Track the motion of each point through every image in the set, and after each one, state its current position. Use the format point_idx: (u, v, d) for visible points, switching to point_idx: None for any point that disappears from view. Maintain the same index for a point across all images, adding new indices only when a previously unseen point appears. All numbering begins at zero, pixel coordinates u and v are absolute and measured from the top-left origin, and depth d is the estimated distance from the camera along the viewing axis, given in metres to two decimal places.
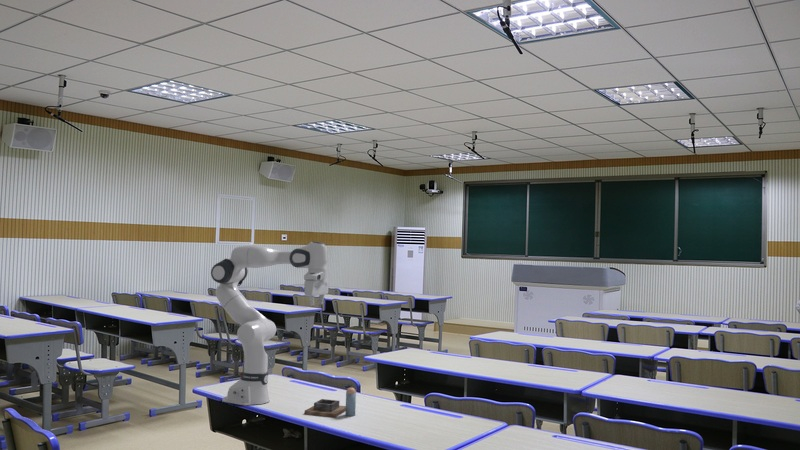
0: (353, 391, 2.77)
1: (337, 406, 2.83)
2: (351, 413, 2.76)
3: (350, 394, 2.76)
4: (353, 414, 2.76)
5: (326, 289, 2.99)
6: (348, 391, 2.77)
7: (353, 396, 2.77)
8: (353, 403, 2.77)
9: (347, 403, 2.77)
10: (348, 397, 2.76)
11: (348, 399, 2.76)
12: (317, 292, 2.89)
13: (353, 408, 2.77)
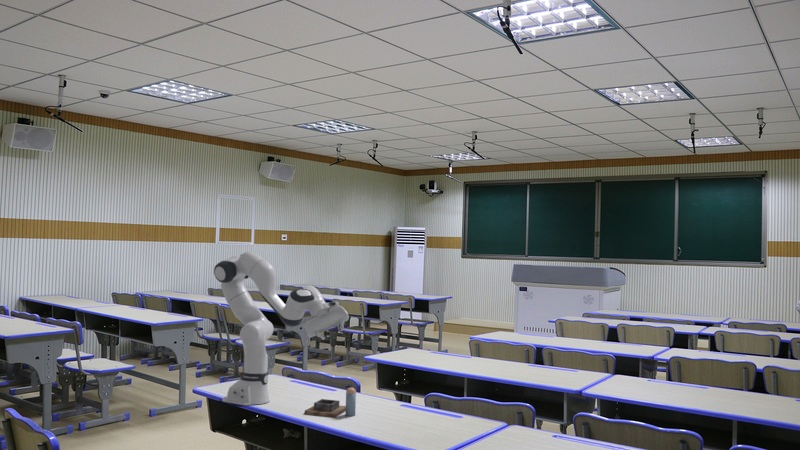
0: (353, 391, 2.77)
1: (337, 406, 2.83)
2: (351, 413, 2.76)
3: (350, 394, 2.76)
4: (353, 414, 2.76)
5: None
6: (348, 391, 2.77)
7: (353, 396, 2.77)
8: (353, 403, 2.77)
9: (347, 403, 2.77)
10: (348, 397, 2.76)
11: (348, 399, 2.76)
12: None
13: (353, 408, 2.77)
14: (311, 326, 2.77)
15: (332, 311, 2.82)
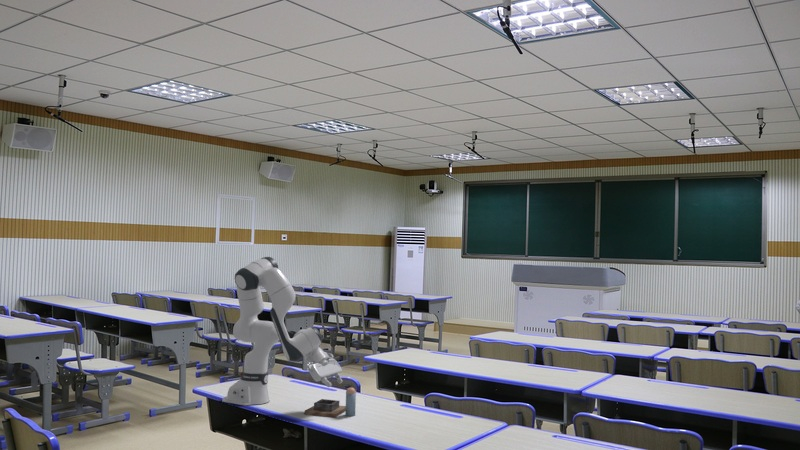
0: (353, 391, 2.77)
1: (337, 406, 2.83)
2: (351, 413, 2.76)
3: (350, 394, 2.76)
4: (353, 414, 2.76)
5: None
6: (348, 391, 2.77)
7: (353, 396, 2.77)
8: (353, 403, 2.77)
9: (347, 403, 2.77)
10: (348, 397, 2.76)
11: (348, 399, 2.76)
12: None
13: (353, 408, 2.77)
14: (320, 370, 2.76)
15: (330, 362, 2.87)
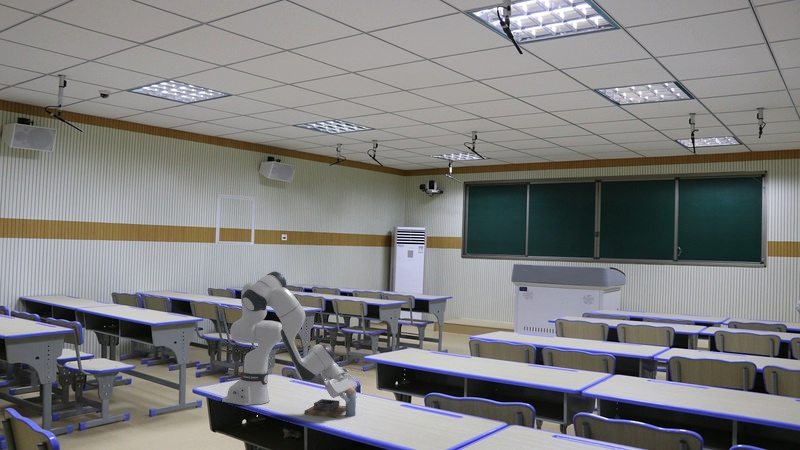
0: (353, 391, 2.77)
1: (337, 406, 2.83)
2: (351, 413, 2.76)
3: (350, 394, 2.76)
4: (353, 414, 2.76)
5: None
6: (348, 391, 2.77)
7: (353, 396, 2.77)
8: (353, 403, 2.77)
9: (347, 403, 2.77)
10: None
11: None
12: None
13: (353, 408, 2.77)
14: (336, 386, 2.74)
15: (345, 377, 2.85)
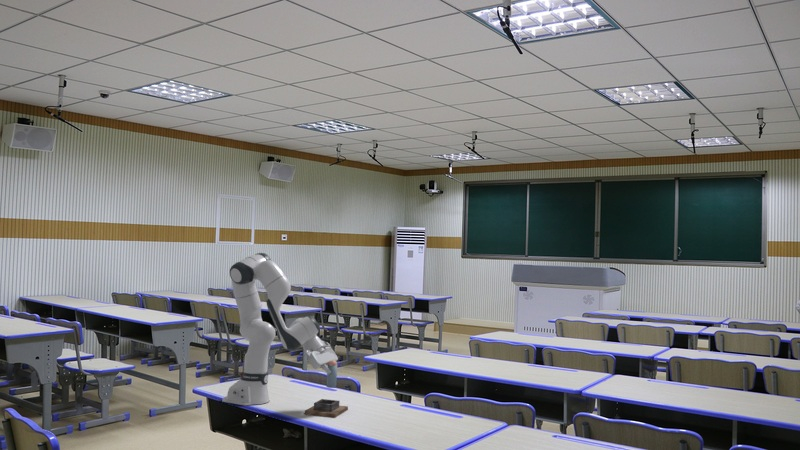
0: (335, 363, 2.84)
1: (337, 406, 2.83)
2: (332, 385, 2.82)
3: (332, 366, 2.83)
4: (334, 386, 2.83)
5: None
6: (330, 363, 2.83)
7: (334, 368, 2.83)
8: (334, 375, 2.83)
9: (328, 375, 2.83)
10: None
11: None
12: None
13: (335, 380, 2.83)
14: (318, 358, 2.80)
15: (327, 350, 2.91)
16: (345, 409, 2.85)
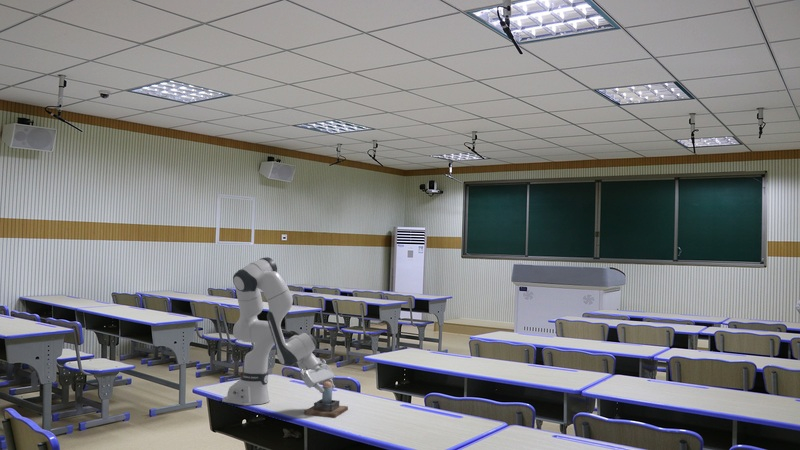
0: (329, 385, 2.81)
1: (337, 406, 2.83)
2: None
3: (326, 388, 2.81)
4: None
5: None
6: (324, 385, 2.81)
7: (329, 390, 2.81)
8: (329, 397, 2.81)
9: (323, 397, 2.81)
10: (324, 391, 2.81)
11: (324, 393, 2.81)
12: None
13: (330, 402, 2.81)
14: (312, 376, 2.78)
15: (322, 368, 2.89)
16: (345, 409, 2.85)
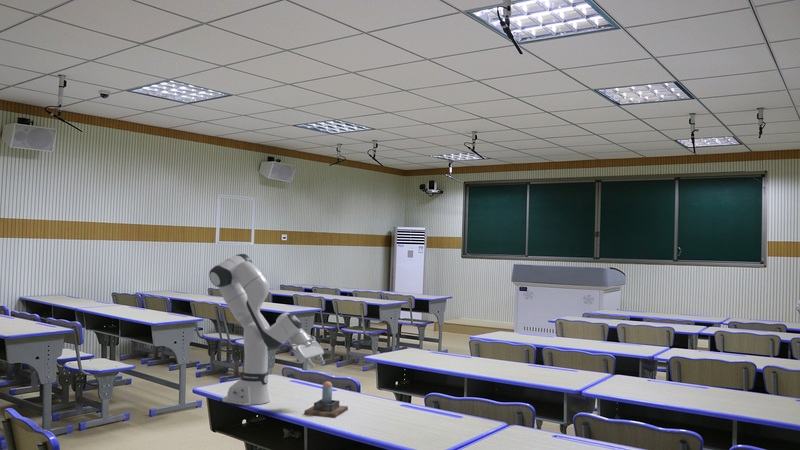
0: (329, 385, 2.81)
1: (337, 406, 2.83)
2: None
3: (326, 388, 2.81)
4: None
5: None
6: (324, 385, 2.81)
7: (329, 390, 2.81)
8: (329, 397, 2.81)
9: (323, 397, 2.81)
10: (324, 391, 2.81)
11: (324, 393, 2.81)
12: None
13: (330, 402, 2.81)
14: (304, 352, 2.83)
15: (313, 344, 2.94)
16: (345, 409, 2.85)
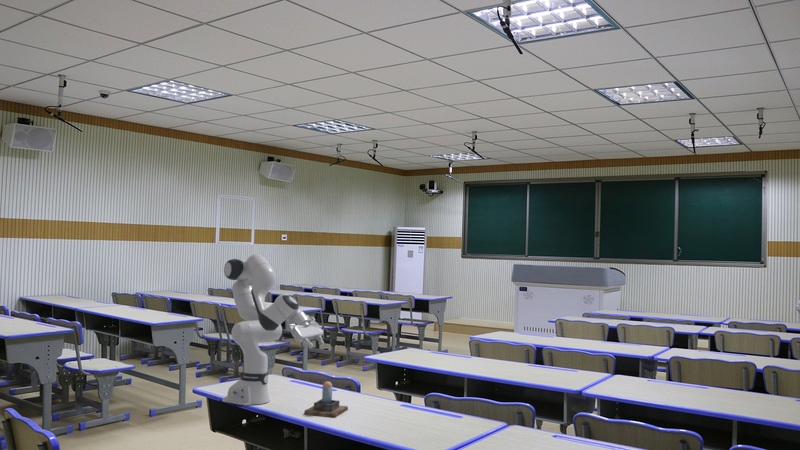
0: (329, 385, 2.81)
1: (337, 406, 2.83)
2: None
3: (326, 388, 2.81)
4: None
5: None
6: (324, 385, 2.81)
7: (329, 390, 2.81)
8: (329, 397, 2.81)
9: (323, 397, 2.81)
10: (324, 391, 2.81)
11: (324, 393, 2.81)
12: None
13: (330, 402, 2.81)
14: (301, 331, 2.82)
15: (312, 325, 2.94)
16: (345, 409, 2.85)
